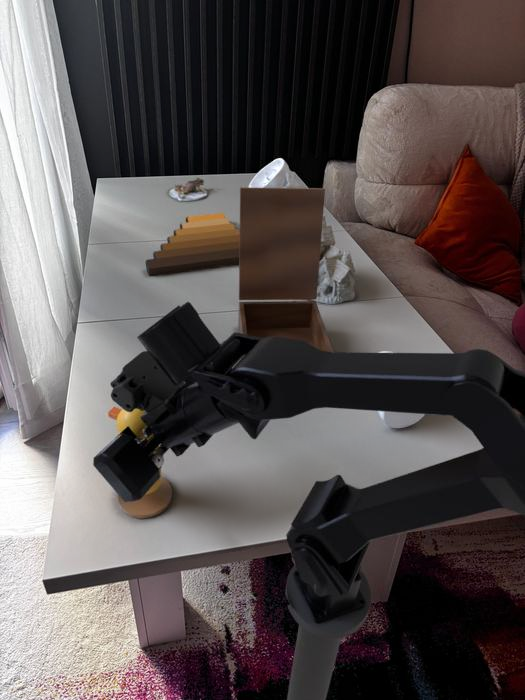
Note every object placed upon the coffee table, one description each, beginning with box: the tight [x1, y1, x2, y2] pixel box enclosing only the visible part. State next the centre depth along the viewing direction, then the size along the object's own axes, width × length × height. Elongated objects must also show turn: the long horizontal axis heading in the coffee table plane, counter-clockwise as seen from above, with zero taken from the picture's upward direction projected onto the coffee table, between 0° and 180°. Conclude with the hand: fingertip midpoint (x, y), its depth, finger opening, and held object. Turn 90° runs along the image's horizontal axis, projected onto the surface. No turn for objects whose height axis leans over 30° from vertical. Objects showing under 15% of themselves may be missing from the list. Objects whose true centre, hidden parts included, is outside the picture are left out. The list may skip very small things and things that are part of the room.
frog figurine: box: [168, 177, 208, 202], centre depth 164 cm, size 12×12×4 cm
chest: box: [237, 300, 334, 360], centre depth 97 cm, size 20×15×6 cm
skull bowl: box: [248, 157, 301, 188], centre depth 164 cm, size 10×14×12 cm
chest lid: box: [238, 186, 326, 301], centre depth 100 cm, size 20×15×4 cm
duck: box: [107, 406, 163, 495], centre depth 68 cm, size 6×5×12 cm
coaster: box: [117, 476, 173, 519], centre depth 73 cm, size 7×7×1 cm
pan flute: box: [145, 212, 240, 277], centre depth 134 cm, size 25×3×25 cm
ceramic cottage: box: [310, 214, 360, 305], centre depth 117 cm, size 16×16×15 cm
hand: (131, 445), depth 68 cm, fingers closed on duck, 4 cm apart
